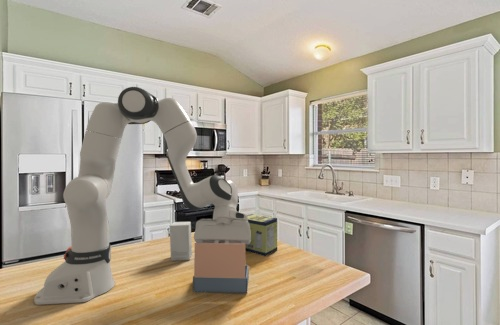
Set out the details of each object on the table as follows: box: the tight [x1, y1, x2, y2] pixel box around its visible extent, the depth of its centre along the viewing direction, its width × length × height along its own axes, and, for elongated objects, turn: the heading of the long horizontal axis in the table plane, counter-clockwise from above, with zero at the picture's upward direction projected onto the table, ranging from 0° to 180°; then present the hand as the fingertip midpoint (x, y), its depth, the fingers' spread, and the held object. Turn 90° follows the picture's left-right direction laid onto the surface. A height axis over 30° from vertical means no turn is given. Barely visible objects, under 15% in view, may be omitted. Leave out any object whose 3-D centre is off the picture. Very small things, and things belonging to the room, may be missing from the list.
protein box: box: [245, 213, 278, 257], centre depth 133 cm, size 10×16×16 cm
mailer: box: [192, 264, 250, 294], centre depth 97 cm, size 18×11×5 cm, turn 88°
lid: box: [193, 242, 246, 278], centre depth 91 cm, size 17×11×1 cm
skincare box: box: [169, 221, 193, 262], centre depth 122 cm, size 8×7×16 cm
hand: (220, 254), depth 94 cm, fingers closed
